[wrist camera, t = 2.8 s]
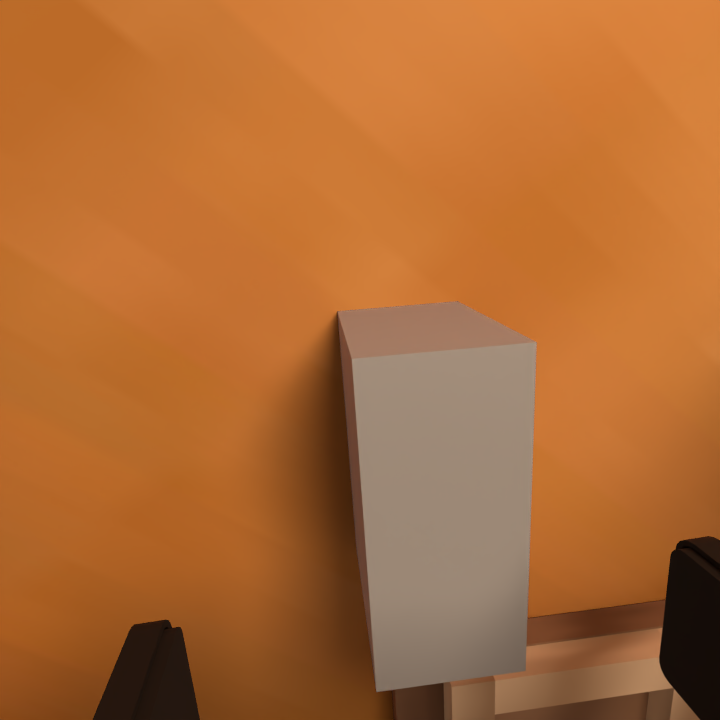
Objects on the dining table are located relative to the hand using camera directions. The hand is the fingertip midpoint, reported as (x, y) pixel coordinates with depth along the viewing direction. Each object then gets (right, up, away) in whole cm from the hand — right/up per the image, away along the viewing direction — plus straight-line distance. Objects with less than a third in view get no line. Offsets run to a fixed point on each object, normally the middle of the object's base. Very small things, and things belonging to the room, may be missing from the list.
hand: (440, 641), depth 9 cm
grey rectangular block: (0, +3, +8) cm, 9 cm away
